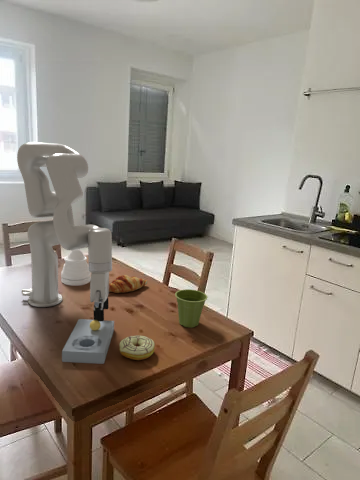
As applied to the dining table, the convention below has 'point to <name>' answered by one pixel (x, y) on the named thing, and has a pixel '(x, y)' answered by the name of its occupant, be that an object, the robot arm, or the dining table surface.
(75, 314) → the dining table surface
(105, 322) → the deck
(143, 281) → the croissant
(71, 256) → the honey pot
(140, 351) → the decorated donut
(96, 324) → the ball
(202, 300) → the plant pot
